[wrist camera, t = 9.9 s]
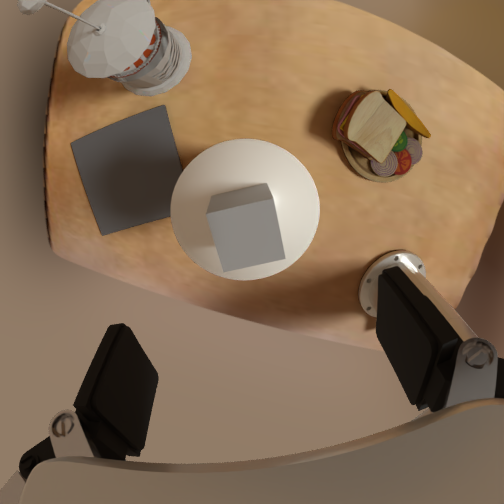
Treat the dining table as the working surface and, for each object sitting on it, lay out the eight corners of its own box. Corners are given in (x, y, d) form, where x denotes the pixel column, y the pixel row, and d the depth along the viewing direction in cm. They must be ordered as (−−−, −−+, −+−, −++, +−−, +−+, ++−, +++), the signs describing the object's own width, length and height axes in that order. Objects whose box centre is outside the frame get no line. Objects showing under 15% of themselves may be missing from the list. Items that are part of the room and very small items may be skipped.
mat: (194, 209, 37) (193, 210, 36) (103, 234, 38) (102, 235, 37) (165, 104, 31) (164, 104, 30) (72, 142, 31) (70, 143, 31)
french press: (114, 100, 30) (-41, 106, 7) (120, 20, 25) (-3, -51, 2) (189, 93, 30) (94, 53, 8) (195, 10, 25) (138, -114, 3)
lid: (324, 259, 24) (342, 290, 20) (197, 286, 25) (190, 323, 20) (303, 124, 19) (321, 127, 15) (154, 161, 20) (132, 174, 15)
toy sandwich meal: (381, 198, 38) (396, 208, 33) (312, 132, 33) (323, 134, 29) (431, 137, 34) (450, 142, 29) (370, 67, 29) (387, 62, 25)
